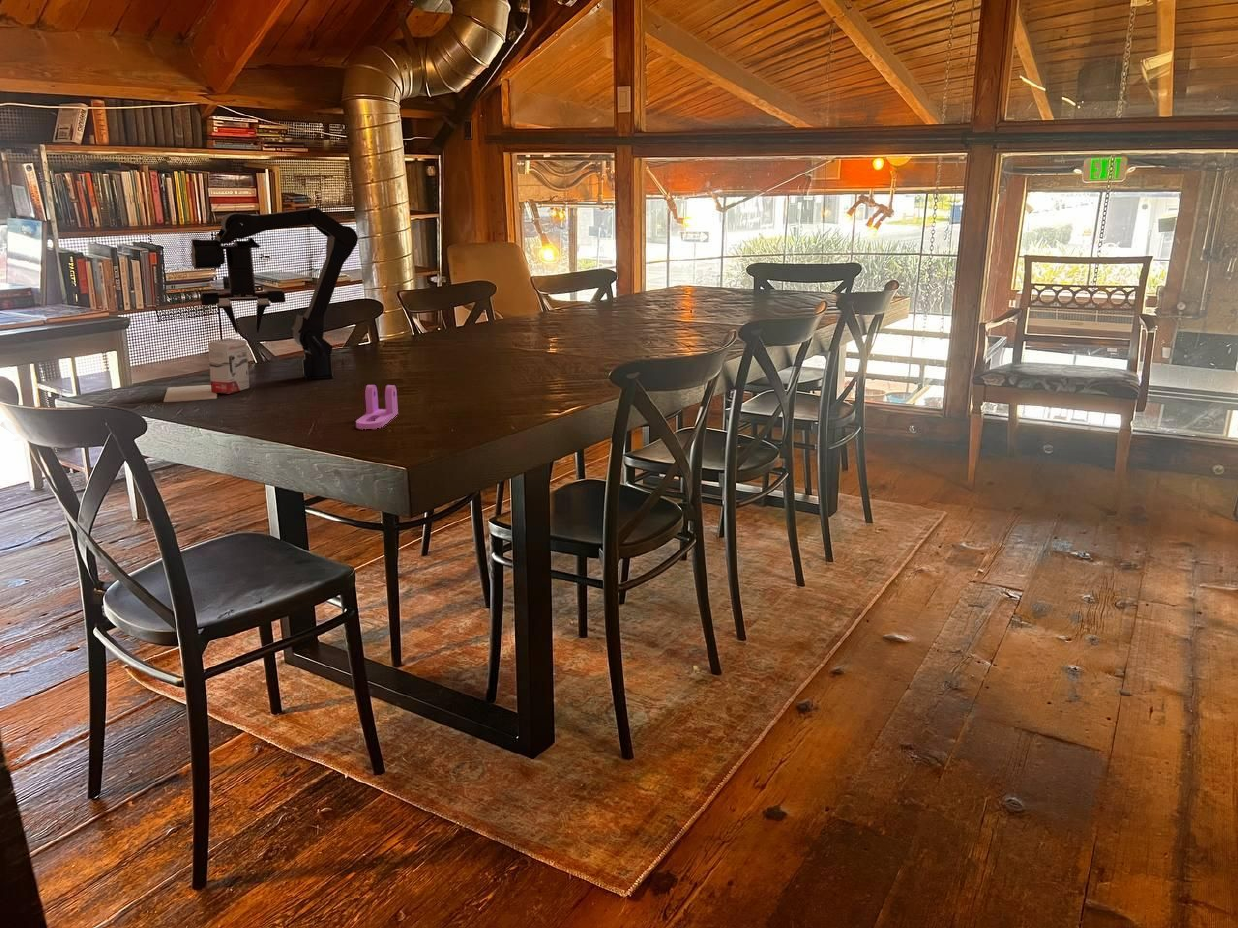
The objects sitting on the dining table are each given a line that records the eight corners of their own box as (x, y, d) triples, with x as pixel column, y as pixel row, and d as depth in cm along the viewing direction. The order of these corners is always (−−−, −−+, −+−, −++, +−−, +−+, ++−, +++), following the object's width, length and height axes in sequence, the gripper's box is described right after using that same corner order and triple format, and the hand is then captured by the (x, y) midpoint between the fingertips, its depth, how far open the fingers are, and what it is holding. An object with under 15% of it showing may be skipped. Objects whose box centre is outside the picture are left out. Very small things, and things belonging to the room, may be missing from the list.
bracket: (372, 415, 199) (370, 383, 197) (398, 415, 199) (396, 383, 197) (352, 430, 186) (349, 396, 184) (379, 430, 186) (377, 396, 184)
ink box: (229, 394, 216) (225, 344, 213) (210, 392, 217) (206, 342, 214) (250, 388, 224) (247, 339, 221) (232, 386, 225) (229, 337, 222)
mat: (217, 385, 227) (217, 384, 227) (216, 398, 213) (216, 397, 212) (168, 388, 223) (168, 387, 223) (163, 402, 209) (163, 401, 209)
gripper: (280, 264, 232) (286, 326, 237) (198, 266, 226) (206, 330, 230) (282, 267, 222) (288, 332, 227) (197, 269, 216) (205, 336, 220)
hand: (247, 333), depth 226 cm, fingers open, 4 cm apart
